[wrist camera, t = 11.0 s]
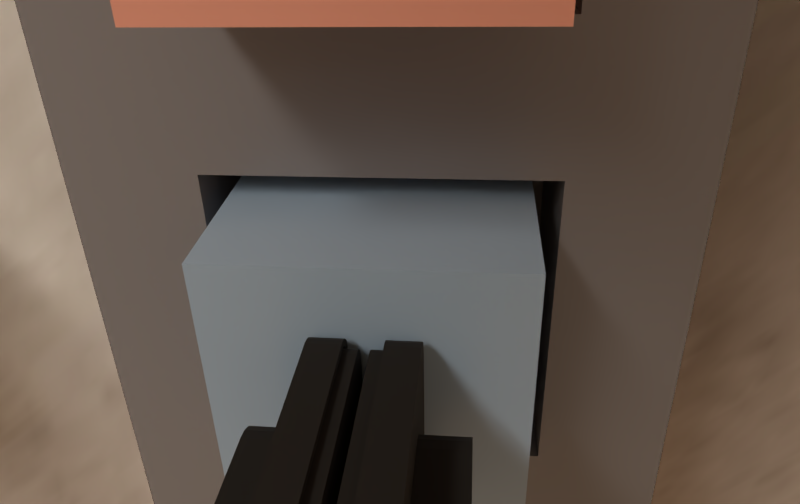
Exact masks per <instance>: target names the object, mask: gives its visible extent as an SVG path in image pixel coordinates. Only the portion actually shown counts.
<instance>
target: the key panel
mask: <svg viewBox="0 0 800 504" xmlns="http://www.w3.org/2000/svg"><path fill="white" fill-rule="evenodd" d="M758 1H759V0H576V3H575V14H574V24H573V27H115V22H114V17H113V13H112V8H111V3H110V0H15V4H16V7H17V11H18V14H19V18H20V22H21V25H22V29H23V33H24V36H25V40H26V43H27V47H28V51H29V54H30V58H31V61H32V65H33V69H34V72H35V76H36V79H37V83H38V87H39V90H40V94H41V97H42V101H43V105H44V108H45V112H46V115H47V119H48V123H49V126H50V130H51V133H52V137H53V141H54V144H55V148H56V152H57V155H58V159H59V162H60V166H61V170H62V173H63V177H64V180H65V184H66V188H67V191H68V195H69V198H70V202H71V206H72V209H73V213H74V216H75V220H76V224H77V227H78V231H79V234H80V238H81V242H82V245H83V249H84V252H85V256H86V260H87V263H88V267H89V271H90V274H91V278H92V281H93V285H94V289H95V292H96V296H97V299H98V303H99V307H100V310H101V314H102V317H103V321H104V325H105V328H106V332H107V335H108V339H109V343H110V346H111V350H112V353H113V357H114V361H115V364H116V368H117V371H118V375H119V379H120V382H121V386H122V390H123V393H124V397H125V400H126V404H127V408H128V411H129V415H130V418H131V422H132V426H133V429H134V433H135V436H136V440H137V444H138V447H139V451H140V454H141V458H142V462H143V465H144V469H145V472H146V476H147V480H148V483H149V487H150V491H151V494H152V498H153V501H154V504H214V503H215V501H216V498H217V496H218V493H219V490H220V488H221V485H222V483H223V480H224V478H225V476H224V471H223V466H222V461H221V456H220V451H219V446H218V441H217V436H216V431H215V426H214V421H213V416H212V411H211V406H210V401H209V396H208V392H207V387H206V382H205V377H204V372H203V367H202V362H201V357H200V352H199V347H198V342H197V337H196V332H195V327H194V322H193V317H192V312H191V307H190V302H189V298H188V293H187V288H186V283H185V278H184V273H183V268H182V263H183V261H184V260H185V258H186V257H187V255H188V254H189V253H190V251H191V250H192V248H193V247H194V245H195V244H196V242H197V241H198V239H199V238H200V236H201V235H202V233H203V232H204V231H205V229H206V228H207V226H208V225H209V223H210V222H211V220H212V219H213V217H214V216H215V214H216V213H217V212H218V210H219V209H220V207H221V206H222V204H223V203H224V201H225V200H226V198H227V197H228V195H229V194H230V192H231V191H232V190H233V188H234V187H235V185H236V184H237V182H238V181H239V179H240V178H241V176H294V177H352V178H409V179H466V180H523V181H532V183H533V190H534V197H535V204H536V210H537V217H538V224H539V231H540V238H541V245H542V252H543V258H544V265H545V272H546V279H545V290H544V301H543V312H542V323H541V335H540V346H539V357H538V368H537V379H536V390H535V402H534V413H533V424H532V435H531V446H530V458H529V469H528V480H527V491H526V502H525V504H651V502H652V497H653V492H654V488H655V483H656V478H657V474H658V469H659V464H660V459H661V455H662V450H663V445H664V441H665V436H666V431H667V427H668V422H669V417H670V413H671V408H672V403H673V399H674V394H675V389H676V385H677V380H678V375H679V370H680V366H681V361H682V356H683V352H684V347H685V342H686V338H687V333H688V328H689V324H690V319H691V314H692V310H693V305H694V300H695V296H696V291H697V286H698V282H699V277H700V272H701V267H702V263H703V258H704V253H705V249H706V244H707V239H708V235H709V230H710V225H711V221H712V216H713V211H714V207H715V202H716V197H717V193H718V188H719V183H720V178H721V174H722V169H723V164H724V160H725V155H726V150H727V146H728V141H729V136H730V132H731V127H732V122H733V118H734V113H735V108H736V104H737V99H738V94H739V90H740V85H741V80H742V75H743V71H744V66H745V61H746V57H747V52H748V47H749V43H750V38H751V33H752V29H753V24H754V19H755V15H756V10H757V5H758Z"/></svg>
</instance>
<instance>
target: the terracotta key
mask: <svg viewBox="0 0 800 504" xmlns="http://www.w3.org/2000/svg"><path fill="white" fill-rule="evenodd" d="M110 3H111V8H112V13H113V17H114V22H115V27H573V24H574V14H575V3H576V0H110Z"/></svg>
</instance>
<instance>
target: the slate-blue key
mask: <svg viewBox="0 0 800 504" xmlns="http://www.w3.org/2000/svg"><path fill="white" fill-rule="evenodd" d="M182 268H183V273H184V278H185V283H186V288H187V293H188V298H189V302H190V307H191V312H192V317H193V322H194V327H195V332H196V337H197V342H198V347H199V352H200V357H201V362H202V367H203V372H204V377H205V382H206V387H207V392H208V396H209V401H210V406H211V411H212V416H213V421H214V426H215V431H216V436H217V441H218V446H219V451H220V456H221V461H222V466H223V471H224V476H225V475H226V473H227V470H228V468H229V465H230V463H231V460H232V458H233V455H234V453H235V450H236V448H237V445H238V443H239V440H240V438H241V436H242V434H243V432H244V430H245V429H246V428H247V427H248V426H264V427H276V425H277V422H278V419H279V416H280V413H281V410H282V407H283V404H284V401H285V399H286V396H287V393H288V390H289V387H290V384H291V381H292V378H293V375H294V372H295V370H296V367H297V364H298V361H299V358H300V355H301V352H302V349H303V346H304V343H305V341H306V339H307V338H308V337H318V338H343V339H346V341H347V345H348V349H359V350H360V353H361V365H362V381H363V380H364V375H365V370H366V366H367V361H368V356H369V352H370V350H383V348H384V343H385V341H386V340H394V341H420V342H423V345H424V435H439V436H459V437H473V457H472V504H525V502H526V491H527V480H528V469H529V458H530V446H531V435H532V424H533V413H534V402H535V390H536V379H537V368H538V357H539V346H540V335H541V323H542V312H543V301H544V290H545V279H546V272H545V265H544V258H543V252H542V245H541V238H540V231H539V224H538V217H537V210H536V204H535V197H534V190H533V183H532V181H523V180H466V179H409V178H352V177H294V176H241V178H240V179H239V181H238V182H237V184H236V185H235V187H234V188H233V190H232V191H231V192H230V194H229V195H228V197H227V198H226V200H225V201H224V203H223V204H222V206H221V207H220V209H219V210H218V212H217V213H216V214H215V216H214V217H213V219H212V220H211V222H210V223H209V225H208V226H207V228H206V229H205V231H204V232H203V233H202V235H201V236H200V238H199V239H198V241H197V242H196V244H195V245H194V247H193V248H192V250H191V251H190V253H189V254H188V255H187V257H186V258H185V260H184V261H183V263H182Z"/></svg>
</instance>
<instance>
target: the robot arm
mask: <svg viewBox="0 0 800 504" xmlns="http://www.w3.org/2000/svg"><path fill="white" fill-rule="evenodd" d="M472 457H473V437H459V436H439V435H424V345H423V342H420V341H394V340H386V341H385V343H384V348H383V350H370V352H369V356H368V361H367V366H366V370H365V375H364V380H363V381H362V365H361V353H360V350H359V349H348V345H347V341H346V339H343V338H318V337H308V338H307V339H306V341H305V343H304V346H303V349H302V352H301V355H300V358H299V361H298V364H297V367H296V370H295V372H294V375H293V378H292V381H291V384H290V387H289V390H288V393H287V396H286V399H285V401H284V404H283V407H282V410H281V413H280V416H279V419H278V422H277V425H276V427H264V426H248V427H247V428H246V429H245V430H244V432H243V434H242V436H241V438H240V440H239V443H238V445H237V448H236V450H235V453H234V455H233V458H232V460H231V463H230V465H229V468H228V470H227V473H226V475H225V478H224V480H223V483H222V485H221V488H220V490H219V493H218V496H217V498H216V501H215V503H214V504H472Z"/></svg>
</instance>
